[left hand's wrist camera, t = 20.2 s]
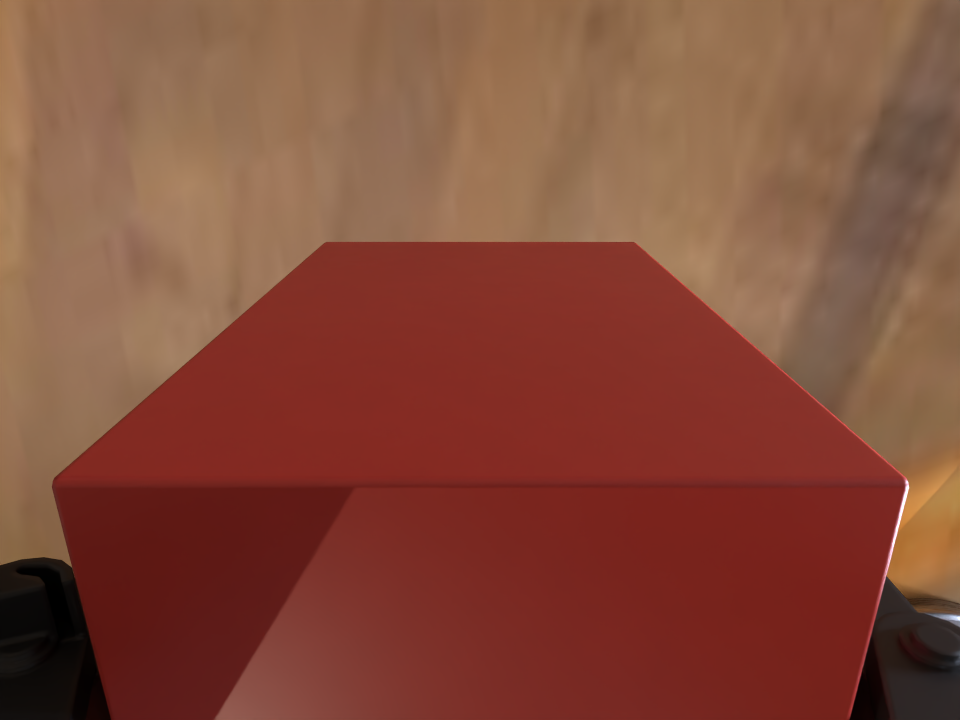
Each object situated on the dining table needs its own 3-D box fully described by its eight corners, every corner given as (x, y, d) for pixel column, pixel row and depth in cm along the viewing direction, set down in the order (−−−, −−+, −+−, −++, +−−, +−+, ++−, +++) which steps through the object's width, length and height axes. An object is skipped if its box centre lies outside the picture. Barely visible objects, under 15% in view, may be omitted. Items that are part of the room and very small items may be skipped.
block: (324, 241, 16) (45, 481, 6) (636, 241, 16) (914, 480, 6) (347, 527, 18) (187, 1032, 8) (612, 527, 18) (772, 1032, 8)
